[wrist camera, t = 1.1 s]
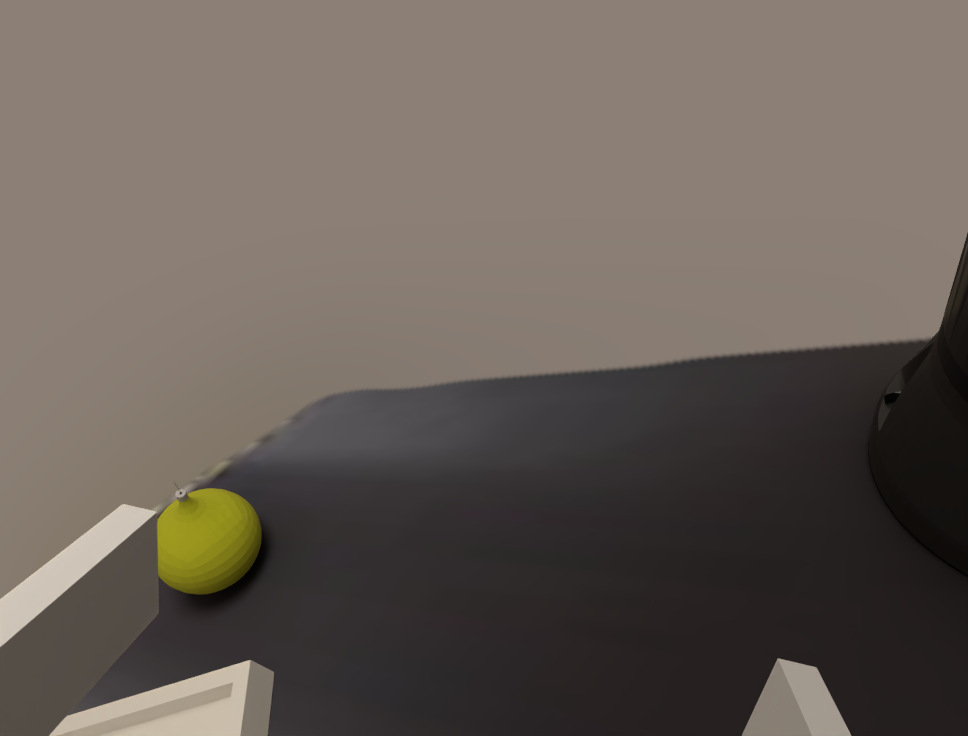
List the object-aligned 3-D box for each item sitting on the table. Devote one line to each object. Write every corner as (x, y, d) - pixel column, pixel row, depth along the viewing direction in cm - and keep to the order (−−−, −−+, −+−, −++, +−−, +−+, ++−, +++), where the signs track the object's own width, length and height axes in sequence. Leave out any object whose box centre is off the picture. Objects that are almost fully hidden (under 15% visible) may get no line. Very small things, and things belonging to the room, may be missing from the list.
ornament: (297, 550, 42) (208, 477, 36) (219, 631, 40) (107, 570, 33) (254, 502, 47) (169, 430, 40) (182, 572, 45) (77, 508, 38)
